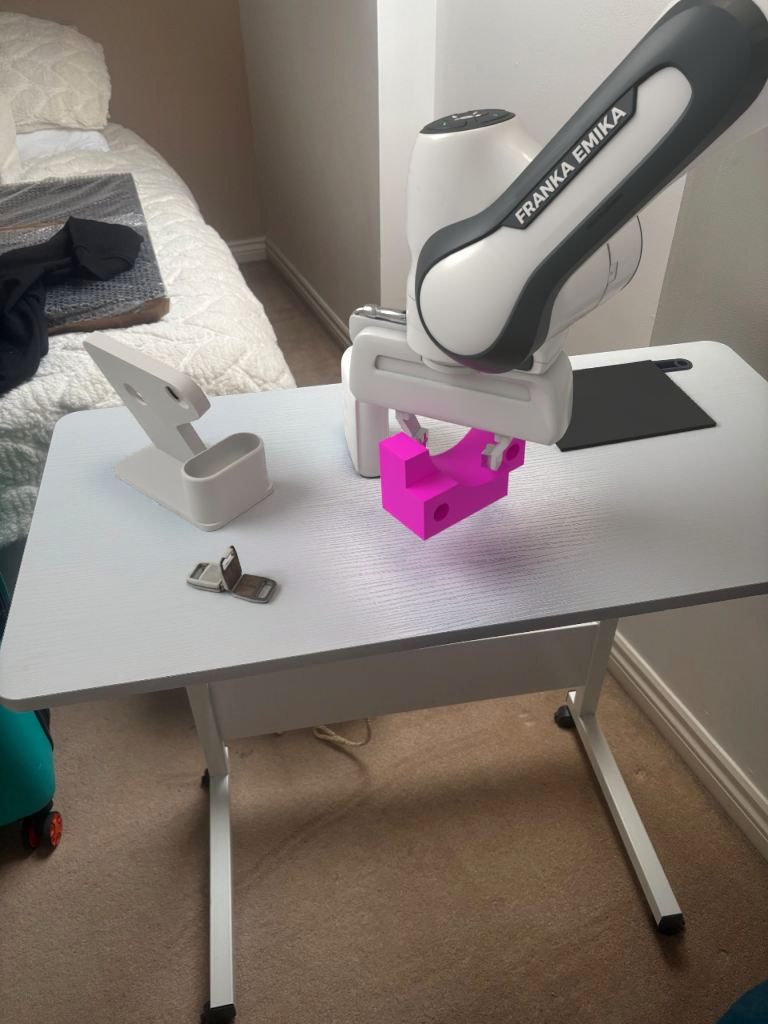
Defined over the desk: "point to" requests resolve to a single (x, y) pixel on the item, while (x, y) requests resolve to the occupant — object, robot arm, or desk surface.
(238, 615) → the desk surface
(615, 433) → the mat
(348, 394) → the photo printer
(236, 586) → the strap clip
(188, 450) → the phone holder
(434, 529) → the toy block
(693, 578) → the desk surface
